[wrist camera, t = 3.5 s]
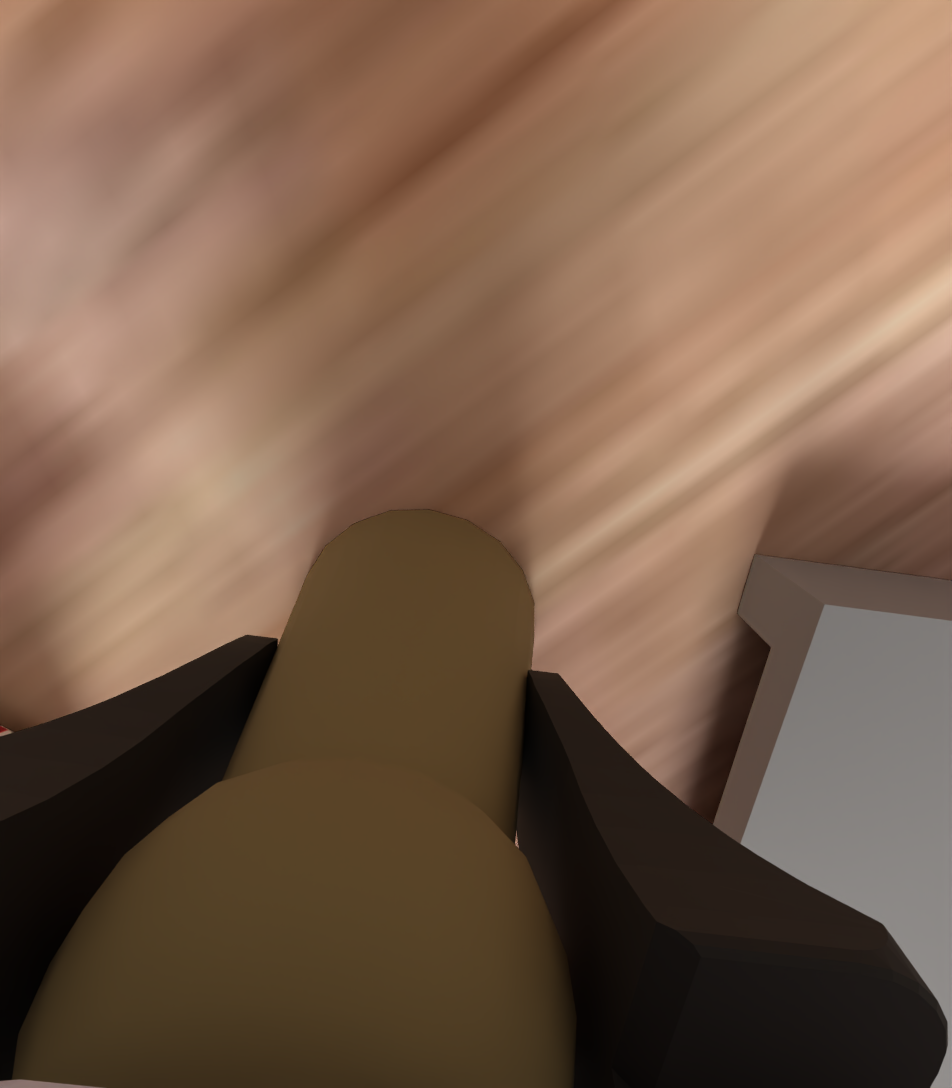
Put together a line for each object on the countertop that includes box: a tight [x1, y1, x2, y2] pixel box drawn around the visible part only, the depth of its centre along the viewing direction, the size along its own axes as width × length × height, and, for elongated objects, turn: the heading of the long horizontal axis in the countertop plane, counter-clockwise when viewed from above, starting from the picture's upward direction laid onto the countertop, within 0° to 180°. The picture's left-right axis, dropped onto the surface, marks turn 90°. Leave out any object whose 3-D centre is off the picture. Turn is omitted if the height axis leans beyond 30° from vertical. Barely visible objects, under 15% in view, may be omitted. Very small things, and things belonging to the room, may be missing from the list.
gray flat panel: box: [713, 554, 952, 1088], centre depth 15 cm, size 17×12×3 cm
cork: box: [12, 510, 577, 1088], centre depth 9 cm, size 6×6×11 cm
